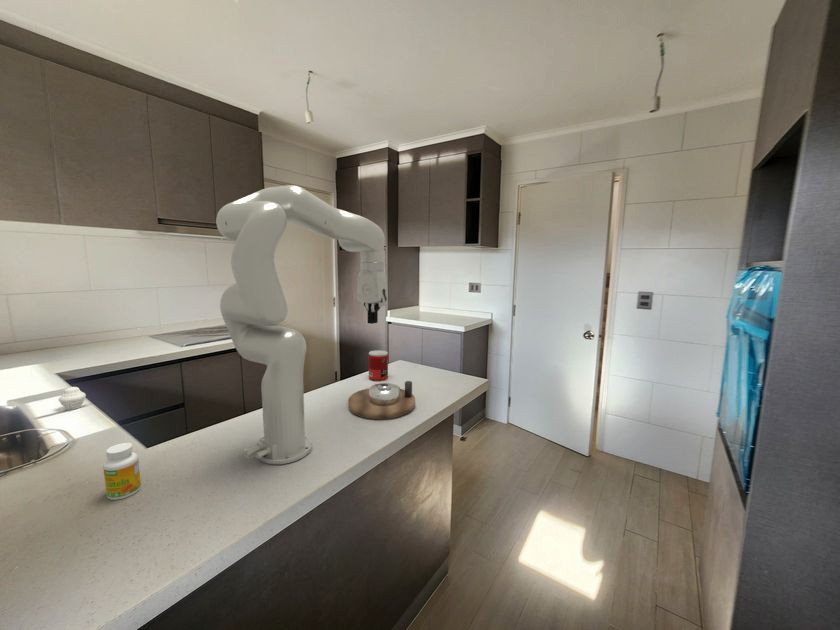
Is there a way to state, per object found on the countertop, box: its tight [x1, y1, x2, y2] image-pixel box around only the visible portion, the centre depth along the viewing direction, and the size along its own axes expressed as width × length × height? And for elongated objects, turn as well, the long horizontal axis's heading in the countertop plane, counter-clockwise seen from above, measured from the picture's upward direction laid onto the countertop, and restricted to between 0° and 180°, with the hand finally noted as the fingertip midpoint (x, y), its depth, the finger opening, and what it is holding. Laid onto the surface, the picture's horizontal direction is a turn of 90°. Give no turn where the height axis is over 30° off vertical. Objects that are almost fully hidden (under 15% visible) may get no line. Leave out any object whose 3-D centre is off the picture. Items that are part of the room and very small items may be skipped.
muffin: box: [58, 386, 87, 411], centre depth 111 cm, size 6×6×7 cm
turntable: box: [347, 380, 416, 420], centre depth 117 cm, size 22×22×7 cm
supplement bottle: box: [102, 442, 142, 501], centre depth 71 cm, size 5×5×10 cm
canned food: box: [368, 349, 389, 382], centre depth 144 cm, size 8×8×11 cm
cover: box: [369, 382, 401, 406], centre depth 115 cm, size 10×10×5 cm
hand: (372, 322), depth 118 cm, fingers closed
